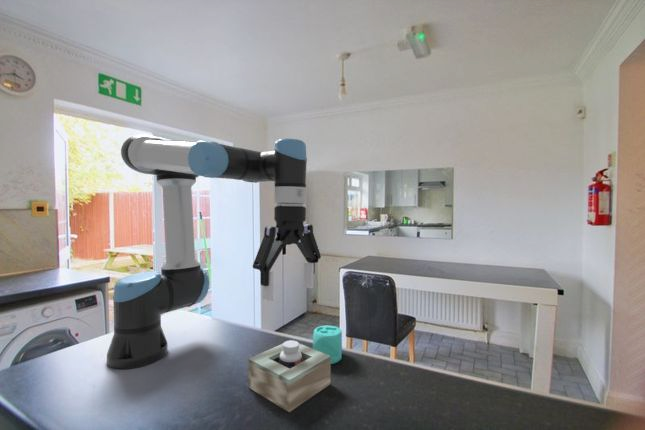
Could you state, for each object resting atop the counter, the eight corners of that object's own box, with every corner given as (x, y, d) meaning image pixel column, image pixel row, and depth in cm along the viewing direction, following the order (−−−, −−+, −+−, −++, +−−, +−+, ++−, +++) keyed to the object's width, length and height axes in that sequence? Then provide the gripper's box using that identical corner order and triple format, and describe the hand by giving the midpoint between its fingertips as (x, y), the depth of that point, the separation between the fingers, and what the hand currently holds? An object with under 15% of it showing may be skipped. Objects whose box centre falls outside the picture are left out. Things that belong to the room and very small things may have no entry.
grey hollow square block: (248, 387, 75) (248, 358, 75) (290, 365, 86) (290, 339, 86) (289, 412, 66) (289, 380, 66) (330, 383, 77) (330, 355, 77)
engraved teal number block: (341, 365, 86) (341, 336, 86) (312, 364, 87) (312, 335, 87) (341, 351, 94) (341, 325, 94) (314, 350, 95) (314, 324, 95)
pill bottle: (298, 391, 73) (298, 349, 73) (276, 388, 74) (276, 347, 74) (304, 378, 78) (304, 340, 78) (283, 375, 80) (283, 338, 79)
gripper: (258, 205, 63) (258, 309, 64) (334, 205, 82) (333, 285, 83) (236, 204, 68) (236, 301, 69) (313, 205, 87) (312, 281, 88)
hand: (289, 293), depth 76 cm, fingers open, 13 cm apart
